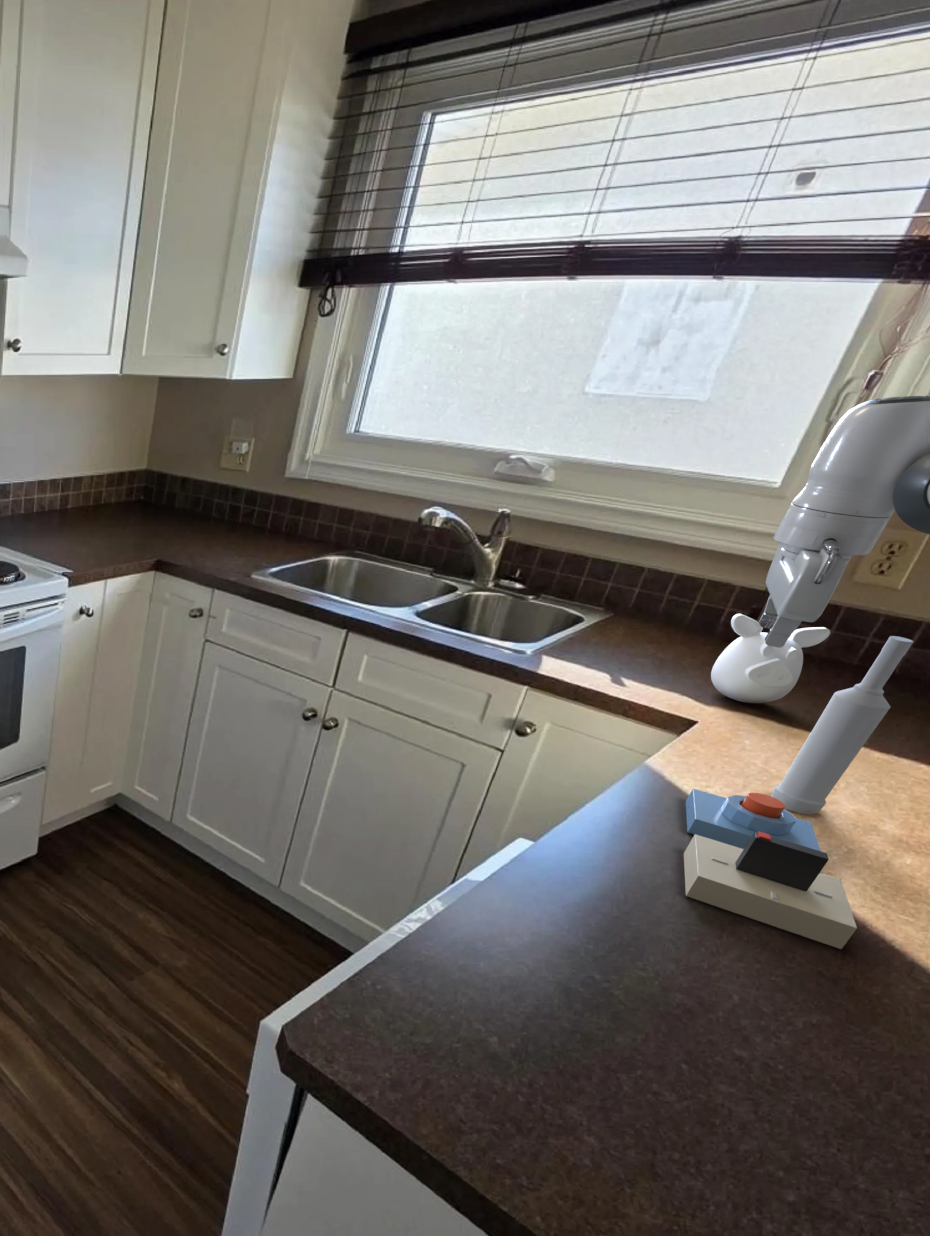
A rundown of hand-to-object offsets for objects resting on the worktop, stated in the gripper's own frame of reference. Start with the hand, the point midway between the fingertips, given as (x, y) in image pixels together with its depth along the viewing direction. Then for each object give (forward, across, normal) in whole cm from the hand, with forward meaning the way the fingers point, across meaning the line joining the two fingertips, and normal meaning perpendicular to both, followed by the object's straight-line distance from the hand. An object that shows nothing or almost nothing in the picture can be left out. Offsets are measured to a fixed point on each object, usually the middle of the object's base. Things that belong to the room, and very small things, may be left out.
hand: (769, 635), depth 107 cm
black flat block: (+20, -30, -6) cm, 37 cm away
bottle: (+23, +2, -11) cm, 26 cm away
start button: (+19, -13, -6) cm, 24 cm away
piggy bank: (+23, +45, -8) cm, 51 cm away
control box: (+23, -30, -6) cm, 38 cm away
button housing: (+23, -13, -6) cm, 27 cm away
